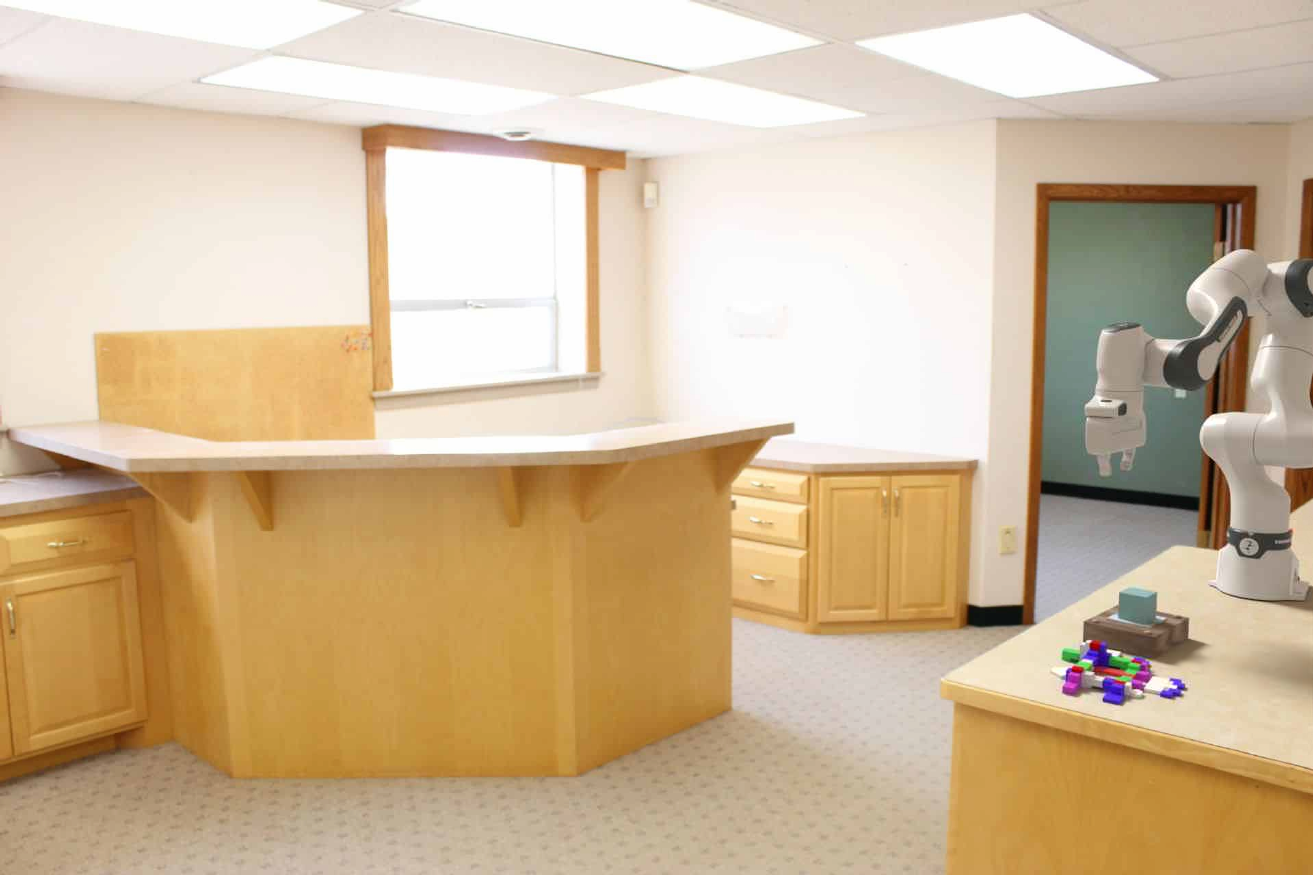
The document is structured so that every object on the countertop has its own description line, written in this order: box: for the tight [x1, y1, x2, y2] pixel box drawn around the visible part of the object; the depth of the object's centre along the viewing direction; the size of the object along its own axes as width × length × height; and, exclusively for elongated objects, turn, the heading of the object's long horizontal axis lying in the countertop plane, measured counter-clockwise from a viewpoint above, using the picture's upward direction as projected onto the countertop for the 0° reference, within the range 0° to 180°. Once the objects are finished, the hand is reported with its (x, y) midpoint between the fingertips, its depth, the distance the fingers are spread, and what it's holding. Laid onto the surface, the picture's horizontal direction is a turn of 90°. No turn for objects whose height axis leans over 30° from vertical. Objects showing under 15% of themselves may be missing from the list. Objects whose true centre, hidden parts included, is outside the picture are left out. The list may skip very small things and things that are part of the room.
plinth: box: [1082, 604, 1190, 659], centre depth 198 cm, size 16×13×4 cm
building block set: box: [1050, 640, 1186, 706], centre depth 179 cm, size 25×20×4 cm
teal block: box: [1118, 586, 1158, 624], centre depth 197 cm, size 5×5×5 cm
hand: (1115, 472), depth 212 cm, fingers open, 8 cm apart
